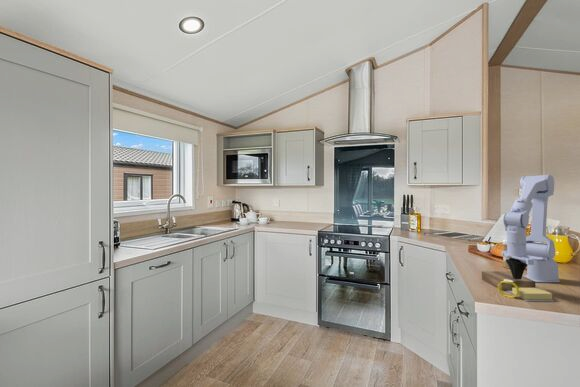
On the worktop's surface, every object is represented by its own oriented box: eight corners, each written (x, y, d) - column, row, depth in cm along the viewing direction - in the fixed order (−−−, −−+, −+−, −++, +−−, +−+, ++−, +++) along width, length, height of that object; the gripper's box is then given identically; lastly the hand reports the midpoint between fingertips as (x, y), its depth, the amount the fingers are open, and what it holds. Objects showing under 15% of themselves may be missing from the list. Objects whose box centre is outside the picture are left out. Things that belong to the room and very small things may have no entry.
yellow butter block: (552, 293, 96) (552, 299, 96) (538, 287, 102) (538, 293, 102) (524, 293, 97) (524, 299, 97) (512, 287, 103) (512, 292, 103)
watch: (519, 298, 100) (520, 282, 99) (517, 300, 98) (518, 284, 97) (499, 292, 104) (500, 277, 104) (496, 294, 103) (497, 278, 102)
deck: (511, 279, 119) (511, 271, 119) (535, 290, 106) (535, 281, 106) (481, 279, 120) (481, 271, 120) (501, 290, 107) (501, 281, 107)
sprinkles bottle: (503, 268, 135) (502, 240, 135) (503, 266, 139) (503, 239, 138) (515, 269, 132) (514, 241, 132) (515, 267, 136) (514, 240, 136)
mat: (531, 290, 106) (531, 289, 106) (555, 301, 95) (555, 300, 95) (506, 290, 106) (506, 289, 106) (526, 301, 96) (526, 300, 96)
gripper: (493, 240, 114) (494, 273, 114) (518, 247, 100) (519, 285, 100) (511, 239, 114) (512, 273, 114) (540, 247, 99) (540, 285, 99)
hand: (517, 278), depth 107 cm, fingers closed
